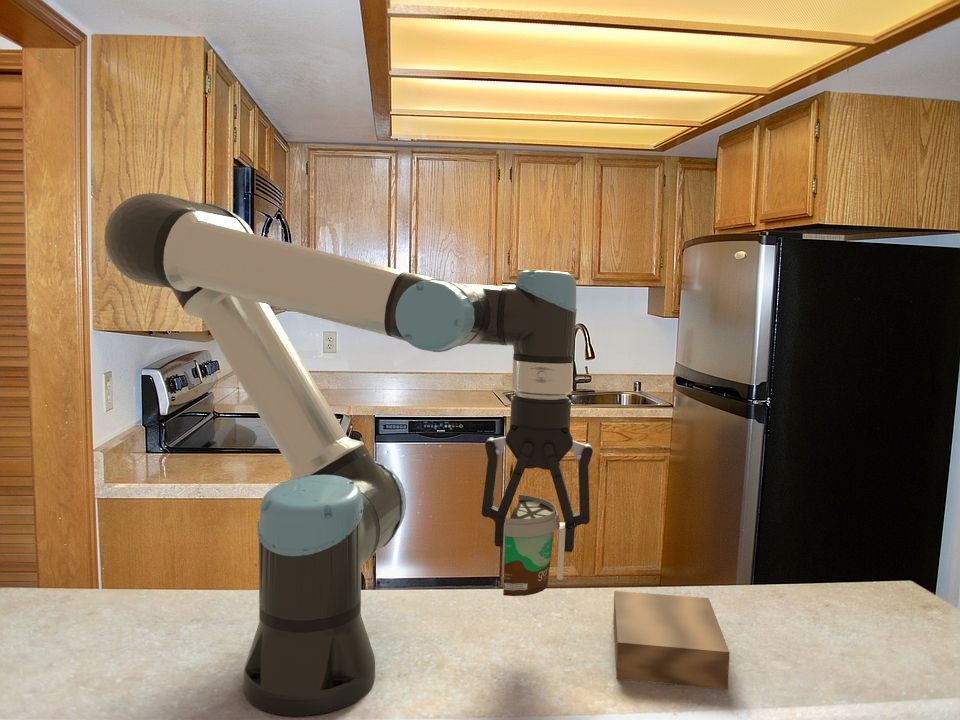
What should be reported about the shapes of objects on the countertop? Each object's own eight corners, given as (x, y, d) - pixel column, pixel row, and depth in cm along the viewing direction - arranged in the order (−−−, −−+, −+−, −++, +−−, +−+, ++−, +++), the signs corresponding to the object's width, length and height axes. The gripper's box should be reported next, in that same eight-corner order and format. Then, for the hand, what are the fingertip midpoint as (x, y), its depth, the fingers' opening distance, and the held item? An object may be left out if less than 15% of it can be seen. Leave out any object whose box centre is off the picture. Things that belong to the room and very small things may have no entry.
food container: (551, 606, 88) (556, 524, 87) (501, 600, 89) (504, 519, 88) (560, 569, 100) (564, 497, 99) (516, 564, 101) (519, 493, 100)
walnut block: (616, 681, 89) (617, 642, 89) (613, 624, 105) (614, 590, 104) (727, 692, 87) (729, 652, 87) (707, 632, 103) (708, 598, 102)
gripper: (461, 394, 89) (454, 577, 91) (621, 403, 87) (610, 590, 89) (469, 387, 97) (462, 556, 99) (616, 395, 95) (606, 568, 97)
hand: (532, 572), depth 94 cm, fingers closed on food container, 6 cm apart
